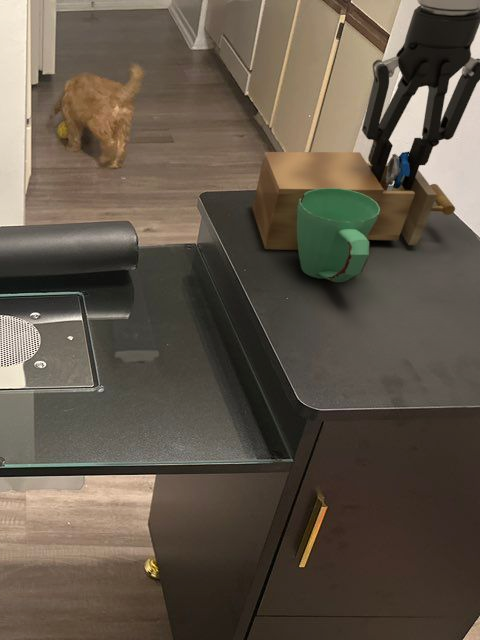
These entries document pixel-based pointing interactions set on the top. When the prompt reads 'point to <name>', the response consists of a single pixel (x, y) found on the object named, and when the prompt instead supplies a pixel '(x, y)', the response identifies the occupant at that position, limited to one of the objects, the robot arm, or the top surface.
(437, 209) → the drawer
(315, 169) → the cabinet
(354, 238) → the mug
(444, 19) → the robot arm
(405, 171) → the toy
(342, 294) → the top surface
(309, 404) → the top surface
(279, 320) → the top surface
